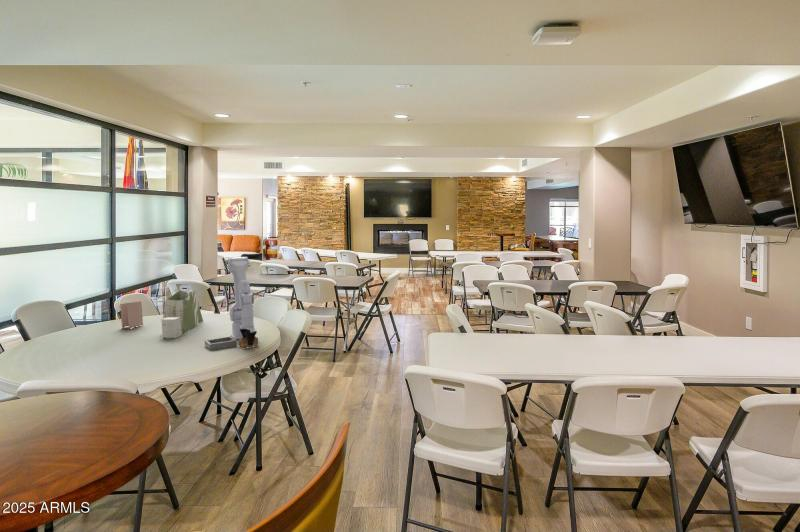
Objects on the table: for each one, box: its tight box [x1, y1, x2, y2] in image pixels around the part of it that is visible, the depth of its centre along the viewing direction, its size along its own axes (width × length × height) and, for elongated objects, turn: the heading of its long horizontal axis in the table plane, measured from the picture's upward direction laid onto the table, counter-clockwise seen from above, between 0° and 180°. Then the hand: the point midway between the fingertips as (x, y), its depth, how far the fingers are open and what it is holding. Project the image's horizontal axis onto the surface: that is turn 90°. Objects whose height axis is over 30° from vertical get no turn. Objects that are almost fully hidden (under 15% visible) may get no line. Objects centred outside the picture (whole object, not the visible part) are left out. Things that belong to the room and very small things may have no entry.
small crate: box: [238, 336, 259, 349], centre depth 246 cm, size 5×8×4 cm, turn 125°
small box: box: [160, 317, 183, 339], centre depth 268 cm, size 8×6×10 cm
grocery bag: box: [162, 288, 204, 334], centre depth 292 cm, size 32×14×23 cm, turn 6°
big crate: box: [204, 335, 238, 351], centre depth 248 cm, size 10×13×3 cm
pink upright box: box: [119, 300, 144, 329], centre depth 292 cm, size 11×7×15 cm, turn 133°
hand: (248, 343), depth 246 cm, fingers open, 6 cm apart
